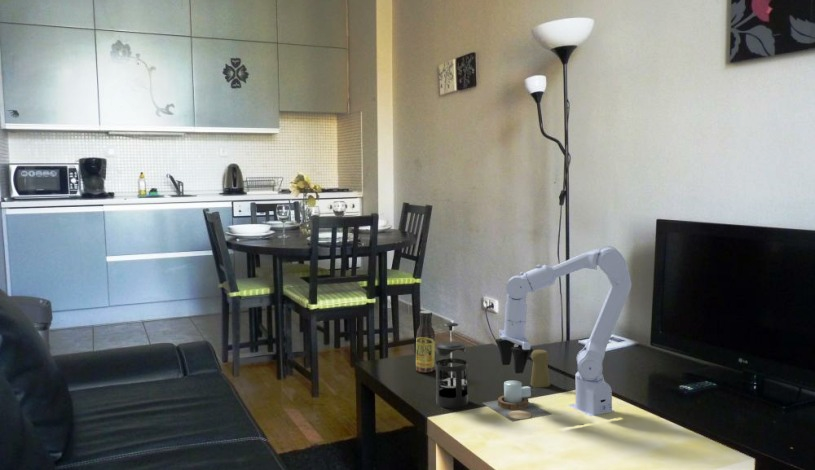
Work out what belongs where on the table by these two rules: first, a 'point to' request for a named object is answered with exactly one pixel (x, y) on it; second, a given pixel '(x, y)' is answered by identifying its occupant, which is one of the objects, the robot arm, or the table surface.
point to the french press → (451, 387)
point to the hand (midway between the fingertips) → (512, 368)
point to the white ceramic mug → (515, 391)
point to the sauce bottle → (425, 344)
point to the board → (516, 409)
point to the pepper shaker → (540, 369)
